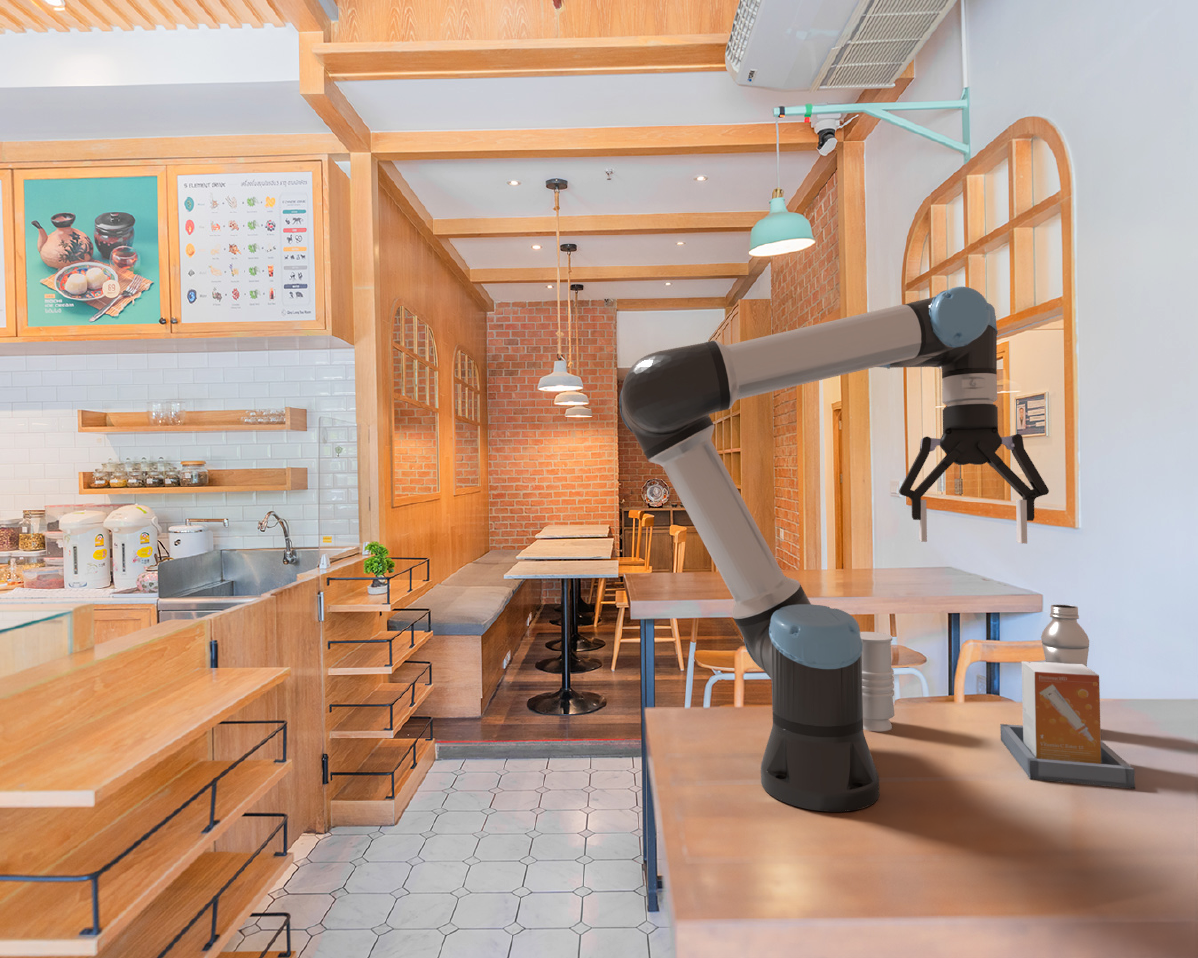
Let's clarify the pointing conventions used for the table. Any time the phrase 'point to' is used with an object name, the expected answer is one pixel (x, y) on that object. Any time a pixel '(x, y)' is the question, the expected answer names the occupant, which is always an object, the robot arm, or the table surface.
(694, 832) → the table surface
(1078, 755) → the small box
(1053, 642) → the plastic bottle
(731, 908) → the table surface
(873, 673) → the white bottle
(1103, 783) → the tray
